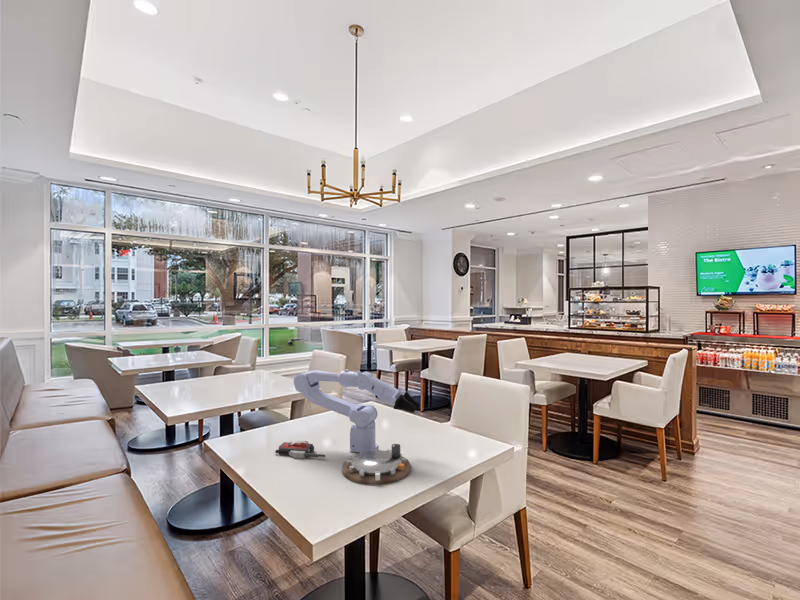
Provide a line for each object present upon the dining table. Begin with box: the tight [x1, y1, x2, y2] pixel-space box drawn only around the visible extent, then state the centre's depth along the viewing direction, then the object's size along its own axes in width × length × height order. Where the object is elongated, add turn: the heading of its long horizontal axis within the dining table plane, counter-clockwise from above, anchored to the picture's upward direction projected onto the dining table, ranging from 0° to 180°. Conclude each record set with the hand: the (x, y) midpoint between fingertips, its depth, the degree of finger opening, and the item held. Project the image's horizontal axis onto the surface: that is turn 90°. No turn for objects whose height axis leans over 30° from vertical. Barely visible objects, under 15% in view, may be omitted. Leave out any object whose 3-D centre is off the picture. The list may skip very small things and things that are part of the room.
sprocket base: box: [341, 456, 412, 486], centre depth 135 cm, size 23×23×3 cm
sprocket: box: [346, 443, 407, 477], centre depth 135 cm, size 20×20×6 cm
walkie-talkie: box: [274, 440, 326, 459], centre depth 149 cm, size 9×4×20 cm
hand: (417, 408), depth 147 cm, fingers open, 7 cm apart
